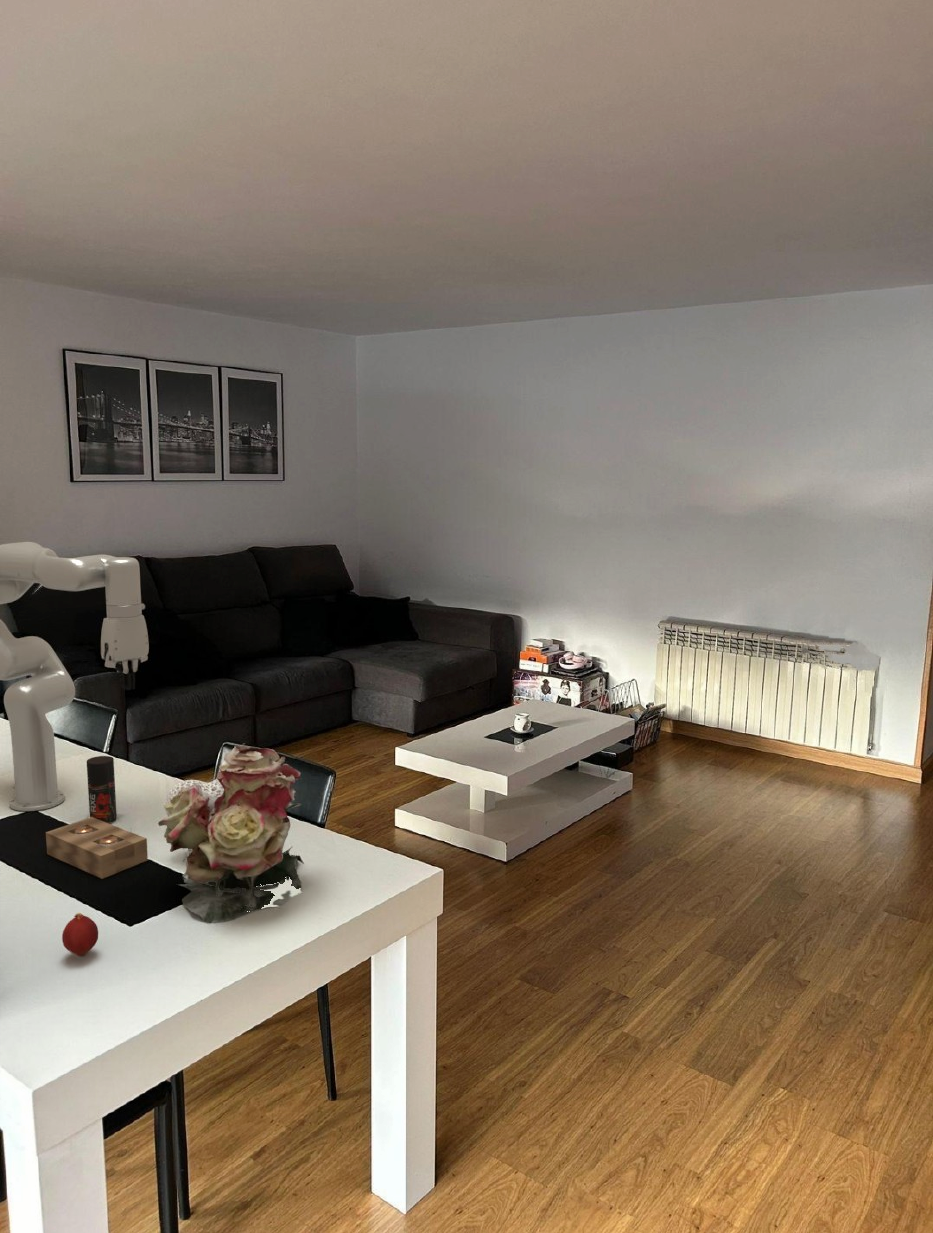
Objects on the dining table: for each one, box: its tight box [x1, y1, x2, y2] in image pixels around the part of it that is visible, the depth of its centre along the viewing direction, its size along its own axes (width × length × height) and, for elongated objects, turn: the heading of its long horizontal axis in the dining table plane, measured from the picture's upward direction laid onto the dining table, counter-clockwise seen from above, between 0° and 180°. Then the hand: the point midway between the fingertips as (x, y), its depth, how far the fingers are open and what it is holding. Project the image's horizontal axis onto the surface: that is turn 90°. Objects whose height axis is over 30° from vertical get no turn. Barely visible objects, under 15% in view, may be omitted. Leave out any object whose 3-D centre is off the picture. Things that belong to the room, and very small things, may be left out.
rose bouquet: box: [158, 743, 305, 924], centre depth 182 cm, size 26×29×30 cm
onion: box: [61, 912, 99, 957], centre depth 160 cm, size 6×6×8 cm
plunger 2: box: [99, 836, 118, 847], centre depth 196 cm, size 4×4×5 cm
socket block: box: [45, 816, 149, 880], centre depth 199 cm, size 20×11×5 cm, turn 55°
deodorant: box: [86, 755, 118, 824], centre depth 218 cm, size 6×6×15 cm
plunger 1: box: [75, 826, 93, 836], centre depth 201 cm, size 4×4×5 cm
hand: (128, 688), depth 215 cm, fingers closed
